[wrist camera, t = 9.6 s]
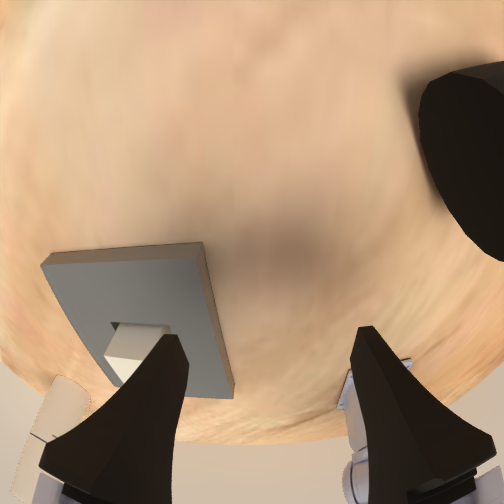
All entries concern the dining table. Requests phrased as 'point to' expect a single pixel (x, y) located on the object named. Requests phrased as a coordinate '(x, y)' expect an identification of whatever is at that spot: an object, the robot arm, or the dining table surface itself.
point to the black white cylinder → (468, 149)
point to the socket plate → (145, 305)
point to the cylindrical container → (48, 432)
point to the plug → (132, 346)
